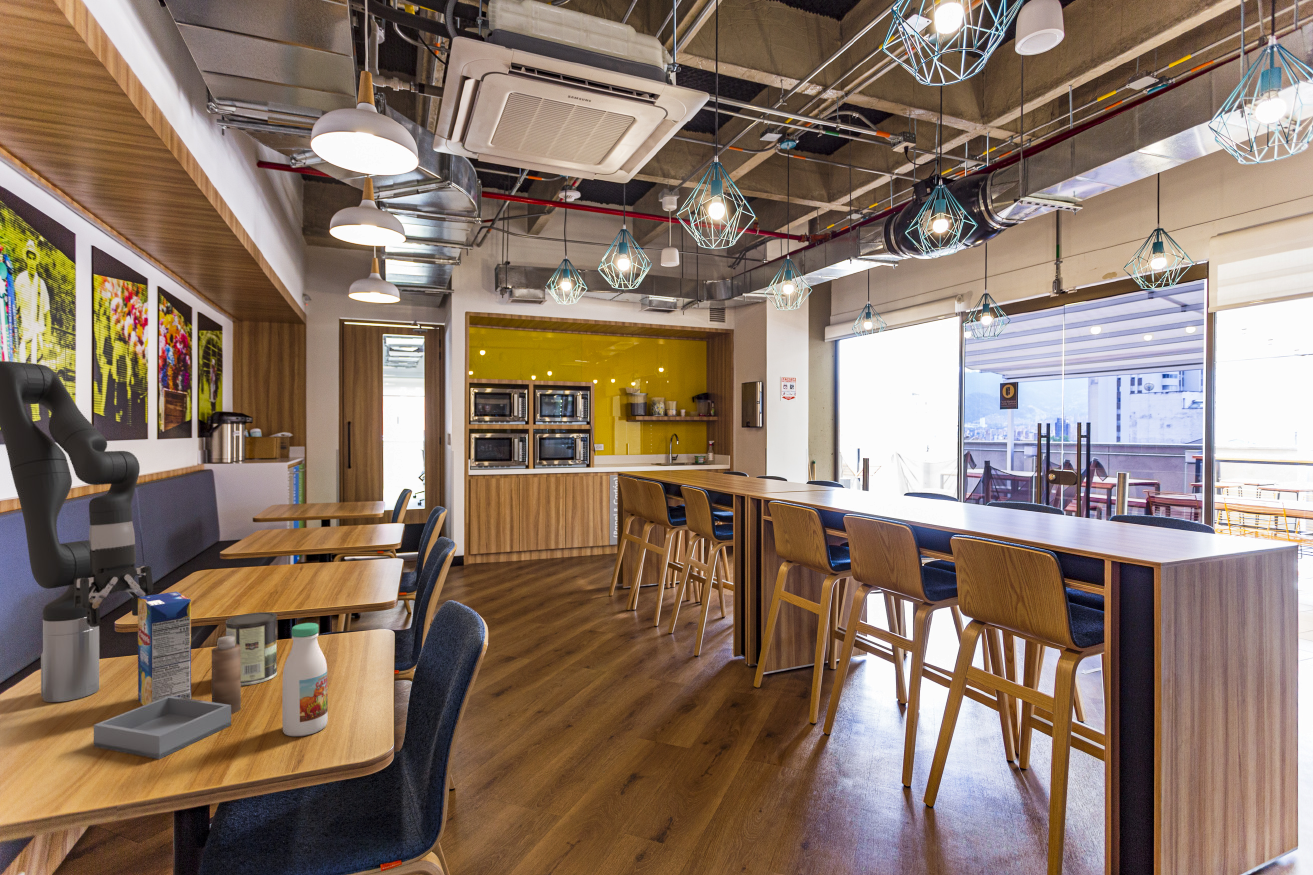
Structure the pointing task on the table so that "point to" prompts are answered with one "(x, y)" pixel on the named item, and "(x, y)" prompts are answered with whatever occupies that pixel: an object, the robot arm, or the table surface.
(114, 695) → the table surface
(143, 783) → the table surface
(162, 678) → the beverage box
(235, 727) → the table surface
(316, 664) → the milk bottle
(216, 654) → the brown bottle
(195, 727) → the grey bin
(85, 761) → the table surface
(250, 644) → the coffee can
